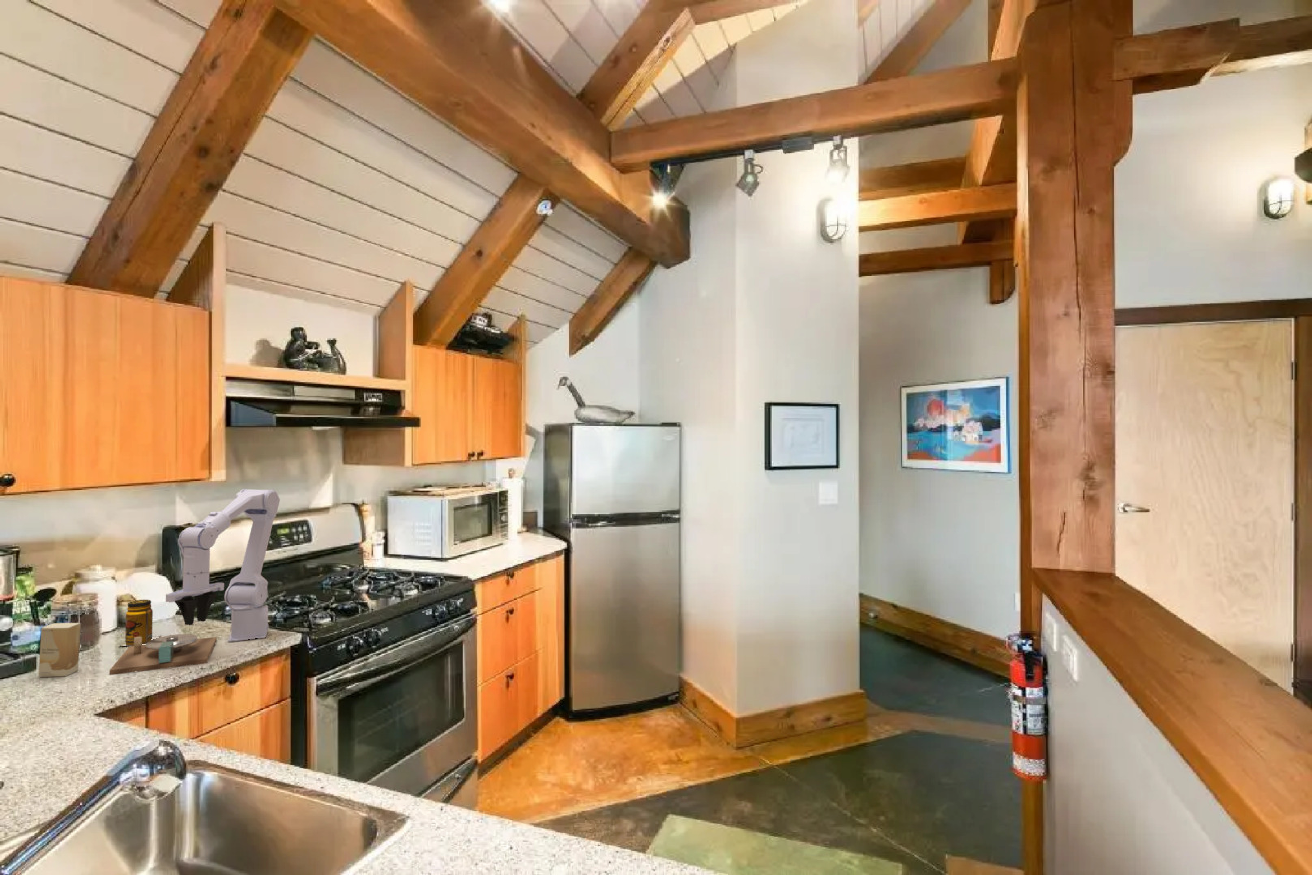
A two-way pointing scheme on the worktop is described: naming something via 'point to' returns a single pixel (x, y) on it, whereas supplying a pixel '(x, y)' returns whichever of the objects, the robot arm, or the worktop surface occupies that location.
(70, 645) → the skincare box
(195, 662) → the walnut base
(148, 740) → the worktop surface
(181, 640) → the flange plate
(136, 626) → the condiment
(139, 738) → the worktop surface
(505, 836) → the worktop surface
